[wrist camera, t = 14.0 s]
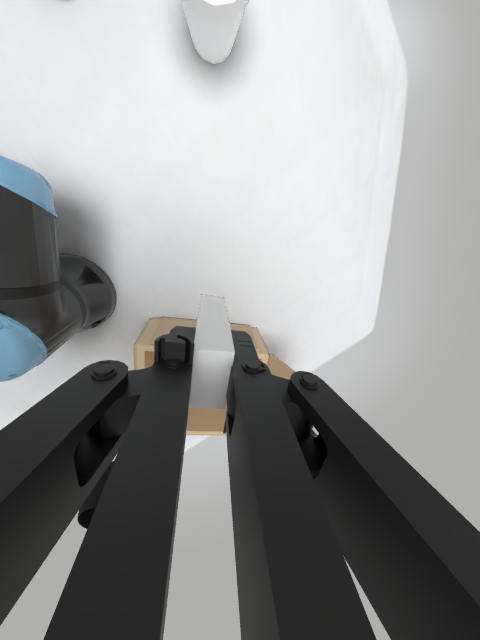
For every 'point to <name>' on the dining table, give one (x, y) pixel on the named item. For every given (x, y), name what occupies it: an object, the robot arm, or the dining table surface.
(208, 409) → the carton
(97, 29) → the dining table surface
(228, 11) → the foam cup
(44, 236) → the robot arm
